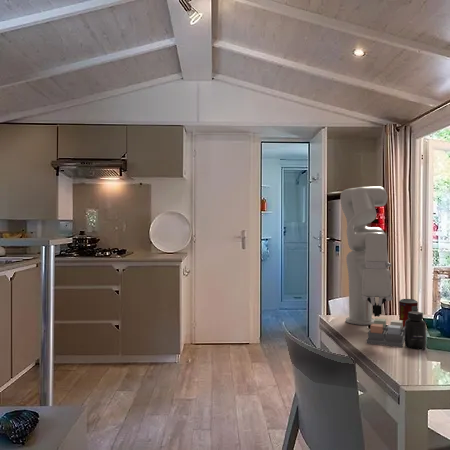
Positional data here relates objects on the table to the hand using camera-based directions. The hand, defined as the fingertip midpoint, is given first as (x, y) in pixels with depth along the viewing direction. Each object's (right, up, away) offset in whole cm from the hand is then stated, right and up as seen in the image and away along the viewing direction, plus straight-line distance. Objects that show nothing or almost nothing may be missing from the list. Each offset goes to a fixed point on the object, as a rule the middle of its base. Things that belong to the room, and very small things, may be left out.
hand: (377, 315), depth 160 cm
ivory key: (+10, -6, +7) cm, 13 cm away
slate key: (+6, -6, -2) cm, 8 cm away
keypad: (+5, -9, +4) cm, 11 cm away
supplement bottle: (+11, -9, -8) cm, 16 cm away
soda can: (+19, -9, +17) cm, 27 cm away
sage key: (+5, -6, +10) cm, 12 cm away
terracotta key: (0, -6, +1) cm, 6 cm away
